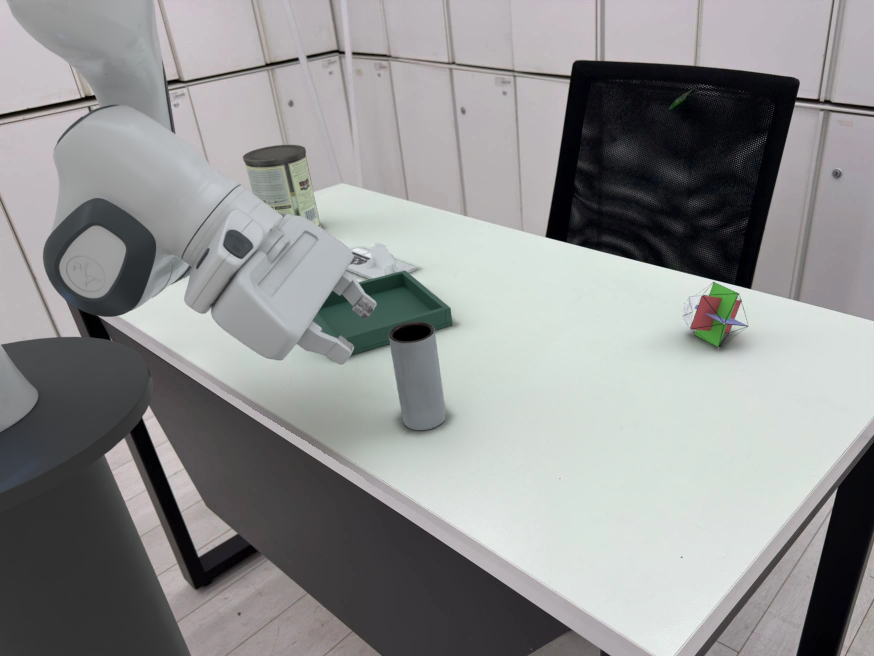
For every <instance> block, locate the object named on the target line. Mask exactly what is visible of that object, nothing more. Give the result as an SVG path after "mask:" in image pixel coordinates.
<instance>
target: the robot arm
mask: <svg viewBox="0 0 874 656" xmlns="http://www.w3.org/2000/svg"><path fill="white" fill-rule="evenodd" d="M6 3H7V5H8V8H9V10H10V13H11V15H12V17H13V18H14V19H15V20H16V21H17V23H18V24H19V25H20V27H21V28H22V29H23V30H24V31H25V32H26V33H27V34H28V35H29V36H30V37H31V38H32V39H34V40H35V41H36V42H37V43H38V44H40V45H41V46H42V47H43V48H45V49H46V50H48V51H50V53H52V54H54V55H56V56H57V57H59V58H60V59H62V60H64V61H65V62H66V63H67V64H69V66H70V67H72V68H73V69H74V70H75V71H77V72H78V74H80V75H81V77H82V78H83V79H84V80H85V81H86V82H87V83H86V84H88V86H89V88H91V91H92V92H93V95H94V96H95V98H96V99H95V100H96V101H97V104H98V107H97V108H94V109H91V110H90V111H89V112H87V113H86V114H84V115H83V116H80V117H79V118H78V119H76V120H75V121H74V122H73V123H72V124H71V125H70V126H69V127H68V128H67V129H65V131H63V133H62V134H61V136H60V137H59V138H58V139H57V142H56V144H55V146H54V149H53V153H52V158H53V159H52V160H53V162H54V165H55V169H56V172H57V177H58V193H57V194H58V195H57V204H56V209H55V210H56V211H55V215H54V220H53V223H52V227H51V231H50V234H49V236H47V239H46V240H45V243H44V246H43V250H42V251H43V252H42V263H43V267H44V271H45V274H46V277H47V278H48V281H49V282H50V284H51V286H52V287H53V288H54V290H55V291H56V292H57V294H58V295H59V296H61V297H62V299H64V300H65V301H66V302H67V303H68V304H70V305H71V306H73V307H74V308H76V309H78V310H80V311H82V312H84V313H87V314H90V315H92V316H96V317H97V316H98V317H102V318H103V317H105V318H112V317H119V316H123V315H126V314H127V313H130V312H132V311H134V310H136V309H139V308H140V307H141V306H143V305H144V304H146V303H147V302H149V301H150V300H151V299H153V298H155V297H157V296H158V295H159V294H161V293H162V292H164V290H166V289H167V288H168V287H170V286H171V285H173V284H176V283H178V282H180V281H181V280H184V279H186V278H187V277H188V276H189V277H188V282H187V285H186V289H185V293H184V297H183V301H184V303H185V305H186V306H188V307H189V308H190V309H191V310H193V311H194V312H195V313H198V314H201V315H204V314H207V313H208V312H209V311H210V315H211V318H212V320H213V321H214V322H215V323H216V325H218V326H219V327H220V328H221V329H222V330H223V331H224V332H226V333H227V334H228V335H230V337H233V338H234V339H235V340H237V341H238V342H240V343H241V344H243V345H244V346H246V347H247V348H249V349H250V350H251V351H253V352H255V353H256V354H258V355H259V356H260V357H263V358H265V359H267V360H268V359H269V360H273V361H283V360H285V358H286V357H287V356H288V355H289V354H290V353H291V351H292V350H293V349H294V348H295V346H296V345H297V346H298V347H300V348H301V349H303V350H305V351H306V352H310V353H314V354H318V355H322V356H326V357H327V358H329V359H330V360H332V361H333V362H335V363H337V364H338V365H344V364H345V363H346V362H347V361H348V360H349V358H350V357H351V356H352V355H351V354H352V352H353V350H354V346H353V344H352V343H350V342H348V341H347V340H346V339H345V338H344V337H342V336H341V335H340V337H339V338H338V339H337V338H335V337H332V336H330V335H328V334H325V333H323V332H321V330H322V328H321V327H320V326H318V325H317V324H316V323H314V322H313V321H312V320H313V319H314V317H315V316H316V314H317V313H318V311H319V310H320V308H321V307H322V305H323V304H324V302H325V301H326V299H327V298H328V296H329V295H330V293H331V292H332V290H333V291H334V292H335V293H337V294H338V295H341V294H342V295H343V296H344V297H345V298H346V299H347V300H348V301H349V302H350V304H351V305H352V306H354V307H353V309H352V311H354V312H355V313H356V314H358V315H360V317H362V318H363V319H367V318H368V317H369V316H370V315H371V314H372V312H373V311H374V309H375V307H376V306H377V303H376V301H375V300H374V299H372V298H371V297H370V296H368V295H367V294H366V293H365V292H364V290H363V289H362V287H361V286H360V284H359V283H358V282H359V281H358V280H357V278H356V277H355V276H354V275H353V274H352V273H350V271H348V270H346V269H347V267H348V266H349V264H350V263H351V261H352V260H353V258H354V255H353V254H352V252H351V251H350V249H351V248H349V246H347V245H346V244H345V243H344V242H342V241H341V240H340V239H338V238H337V237H336V236H334V235H332V234H331V233H330V232H328V231H327V230H325V229H324V228H323V227H322V226H321V227H319V226H318V225H316V224H315V223H313V222H311V221H310V220H308V219H306V218H304V217H301V216H292V215H290V214H283V213H279V212H277V211H275V210H274V209H273V208H271V207H270V206H269V205H268V204H266V203H265V202H264V201H262V200H261V199H260V198H258V197H257V196H256V195H254V194H253V193H252V190H250V189H248V188H247V187H246V186H244V185H242V183H240V182H238V181H237V180H236V179H233V178H230V177H228V176H226V175H224V174H222V173H220V172H219V171H218V170H217V169H216V168H214V167H213V166H212V165H211V163H209V161H208V160H207V159H206V158H205V157H204V155H203V154H202V153H201V152H200V151H199V150H198V149H196V148H195V147H194V146H192V145H191V144H189V143H188V142H187V141H185V140H184V139H183V138H181V137H180V136H179V135H177V134H176V127H175V122H174V115H173V109H172V101H171V96H170V89H169V85H168V84H169V83H168V79H167V74H166V69H165V64H164V61H163V55H162V48H161V42H160V38H159V33H158V31H159V30H158V25H157V15H156V5H155V0H6ZM37 400H38V391H37V390H36V388H35V387H34V386H33V385H32V384H31V383H30V382H29V381H28V380H27V379H26V378H25V377H24V376H23V375H22V374H21V372H20V371H19V370H18V369H17V367H16V366H15V365H14V363H13V362H12V361H11V359H10V358H9V356H8V355H7V353H6V352H5V350H4V349H3V347H2V346H1V343H0V432H2V431H3V430H5V429H7V428H9V427H10V426H12V425H13V424H15V423H16V422H18V421H19V420H20V419H22V418H23V417H24V416H25V415H27V414H28V413H29V412H30V411H31V410H32V408H33V407H34V406H35V404H36V402H37Z"/></svg>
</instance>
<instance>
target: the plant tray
mask: <svg viewBox="0 0 874 656" xmlns="http://www.w3.org/2000/svg"><path fill="white" fill-rule="evenodd" d="M358 283H359V284H360V286H361V287H362V289H363V290H364V292H365V293H366V294H367V295H368V296H370V297H371V298H372V299H374V300H375V301H376V303H377V306H376V307H375V309H374V311H373V312H372V314H371V315H370V316H369V317H368V318H367V319H363V318H362V317H360V315H358V314H356V313H355V312H354V311H352V309H353V307H354V306H352V305H351V304H350V302H349V301H348V300H347V299H346V298H345V297H344V296H343V295H342V294H341V295H338V294H337V293H335V292H334V291H333V290H332V292H331V293H330V295H329V296H328V298H327V299H326V301H325V302H324V304H323V305H322V307H321V308H320V310H319V311H318V313H317V314H316V316H315V317H314V319H313V320H312V321H313V322H314V323H316V324H317V325H318V326H320V327H321V328H322V330H321V332H323V333H325V334H328V335H330V336H332V337H335V338H337V339H338V338H339V337H340V335H341V336H342V337H344V338H345V339H346V340H347V341H348V342H350V343H352V344H353V346H354V350H353V352H352V354H351V356H353V355H357V354H360V353H364V352H367V351H370V350H373V349H377V348H380V347H383V346H387V345H390V342H389V332H390V331H391V330H392V329H393V328H394V327H396V326H398V325H400V324H403V323H408V322H425V323H428V324H430V325H432V326H433V327H434V329H435V331H438V330H441V329H445V328H447V327H450V326H453V315H452V309H451V307H450V306H449V305H448V304H447V303H445V302H444V301H443V300H442V299H440V298H439V297H438V296H437V295H436V294H435V293H433V292H432V291H431V290H430V289H429V288H428V287H426V285H425V286H424V284H423V283H421V282H420V281H419V280H417V279H416V278H415V277H414V276H413V275H411V274H410V273H408V272H407V271H405V270H404V271H400V272H396V273H392V274H389V275H385V276H381V277H377V278H373V279H365V280H363V281H358Z"/></svg>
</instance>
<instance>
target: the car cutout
mask: <svg viewBox="0 0 874 656" xmlns="http://www.w3.org/2000/svg"><path fill="white" fill-rule="evenodd" d="M349 249H350V251H351V252H352V254H353V255H354V258H353V260H352V261H351V263H350V264H349V266H348V267H347V269H346V271H347V272H349V273H350V272H351V273H353V274H355V275H358V276H360V277H363V278H364V279H365V278H366V279H367V280H369V279H373V278H377V277H381V276H385V275H389V274H392V273H396V272H400V271H404V270H405V271H407V272H408V273H409V274H410V273H412V272H415V271H417V270H418V269H417V266H414V265H412V264H409V263H407V262H403V261H401V260H397V259H395V256H394V255H393V254H392V253H390V252H389V249H388V247H387V246H386V245H385V244H383V243H381V242H380V243H379V242H375V243H374V246H371V247H370V248H369V249H367V248H364V247H361V246H355V247H353V248H349Z"/></svg>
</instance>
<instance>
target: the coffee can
mask: <svg viewBox="0 0 874 656" xmlns="http://www.w3.org/2000/svg"><path fill="white" fill-rule="evenodd" d="M306 154H307V150H306V147H304V146H303V145H299V144H279V145H278V144H277V145H271V146H270V145H269V146H264V147H259V148H257V149H254V150H250V151H248V152H247V153H245V154H243V156H242V160H243V163H244V164H245V168H246V173H247V177H248V181H249V184H250V188H251V192H252V193H253V194H254V195H256V196H257V197H258V198H260V199H261V200H262V201H264V202H265V203H266V204H268V205H269V206H270V207H271V208H273V209H274V210H275V211H277V212H279V213H283V214H290V215H292V216H301V217H304V218H306V219H308V220H310V221H311V222H313V223H315V224H316V225H318V226H319V227H321V228H322V225H321V222H320V217H319V212H318V208H317V202H316V197H315V192H314V188H313V183H312V178H311V177H312V176H311V173H310V169H309V163H308V159H307V155H306Z"/></svg>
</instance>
